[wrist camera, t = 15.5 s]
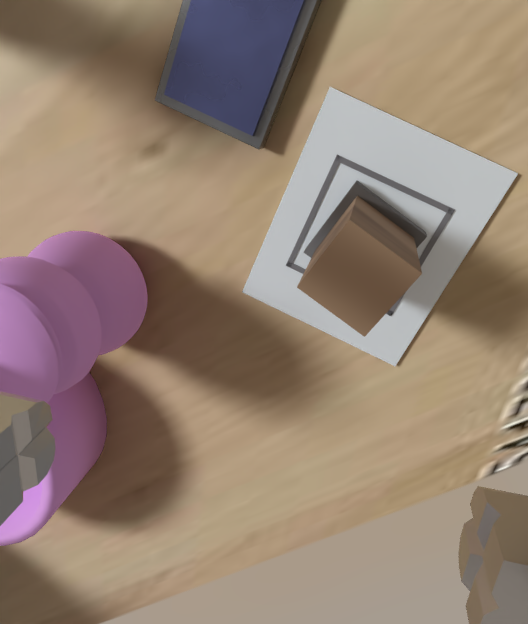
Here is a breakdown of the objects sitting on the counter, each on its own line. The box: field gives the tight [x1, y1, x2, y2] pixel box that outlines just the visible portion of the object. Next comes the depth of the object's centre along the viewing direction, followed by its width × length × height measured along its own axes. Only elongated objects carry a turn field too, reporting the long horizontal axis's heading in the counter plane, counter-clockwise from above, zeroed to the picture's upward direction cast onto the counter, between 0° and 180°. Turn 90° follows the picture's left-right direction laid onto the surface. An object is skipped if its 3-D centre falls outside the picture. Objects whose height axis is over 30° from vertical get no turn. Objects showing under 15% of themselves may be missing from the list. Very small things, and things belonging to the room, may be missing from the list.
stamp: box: [297, 180, 427, 337], centre depth 23 cm, size 4×4×7 cm
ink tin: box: [155, 0, 321, 149], centre depth 24 cm, size 8×6×1 cm
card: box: [242, 87, 518, 366], centre depth 27 cm, size 12×10×1 cm
